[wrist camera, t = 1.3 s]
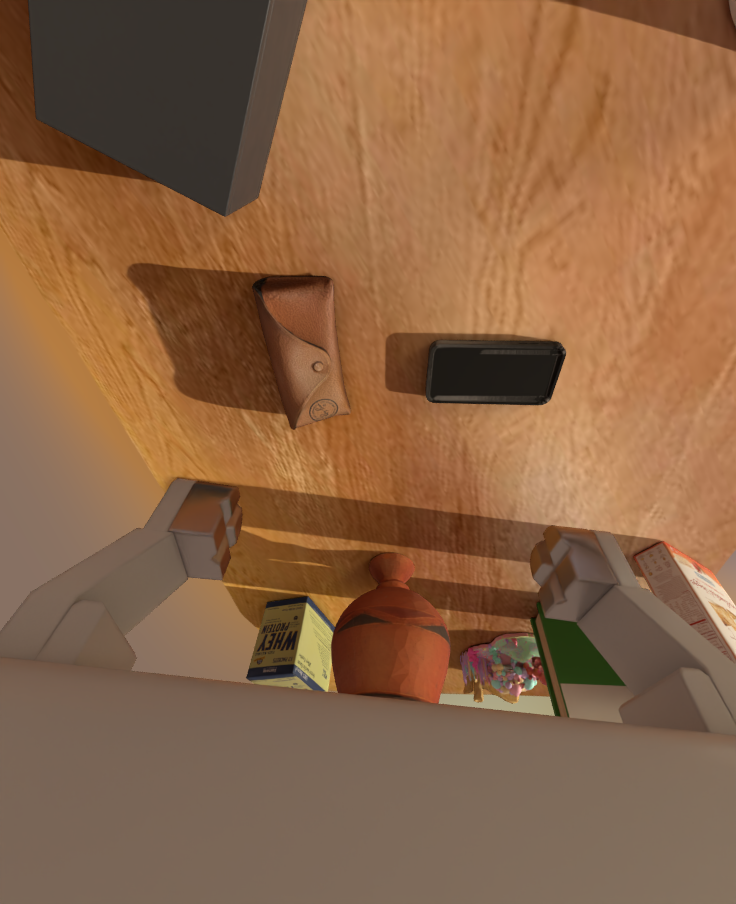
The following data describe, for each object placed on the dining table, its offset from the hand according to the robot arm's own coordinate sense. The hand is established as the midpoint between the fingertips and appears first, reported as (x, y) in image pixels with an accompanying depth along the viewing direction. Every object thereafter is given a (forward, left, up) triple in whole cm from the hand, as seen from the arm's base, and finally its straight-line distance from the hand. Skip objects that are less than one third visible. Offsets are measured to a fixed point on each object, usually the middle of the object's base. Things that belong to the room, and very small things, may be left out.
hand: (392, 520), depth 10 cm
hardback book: (+45, +67, -36) cm, 89 cm away
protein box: (+78, +18, -36) cm, 88 cm away
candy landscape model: (+69, +69, -36) cm, 104 cm away
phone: (+8, +17, -36) cm, 41 cm away
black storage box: (-4, -19, -36) cm, 41 cm away
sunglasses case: (+16, -3, -36) cm, 40 cm away
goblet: (+50, +26, -36) cm, 67 cm away
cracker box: (+24, +68, -36) cm, 80 cm away
